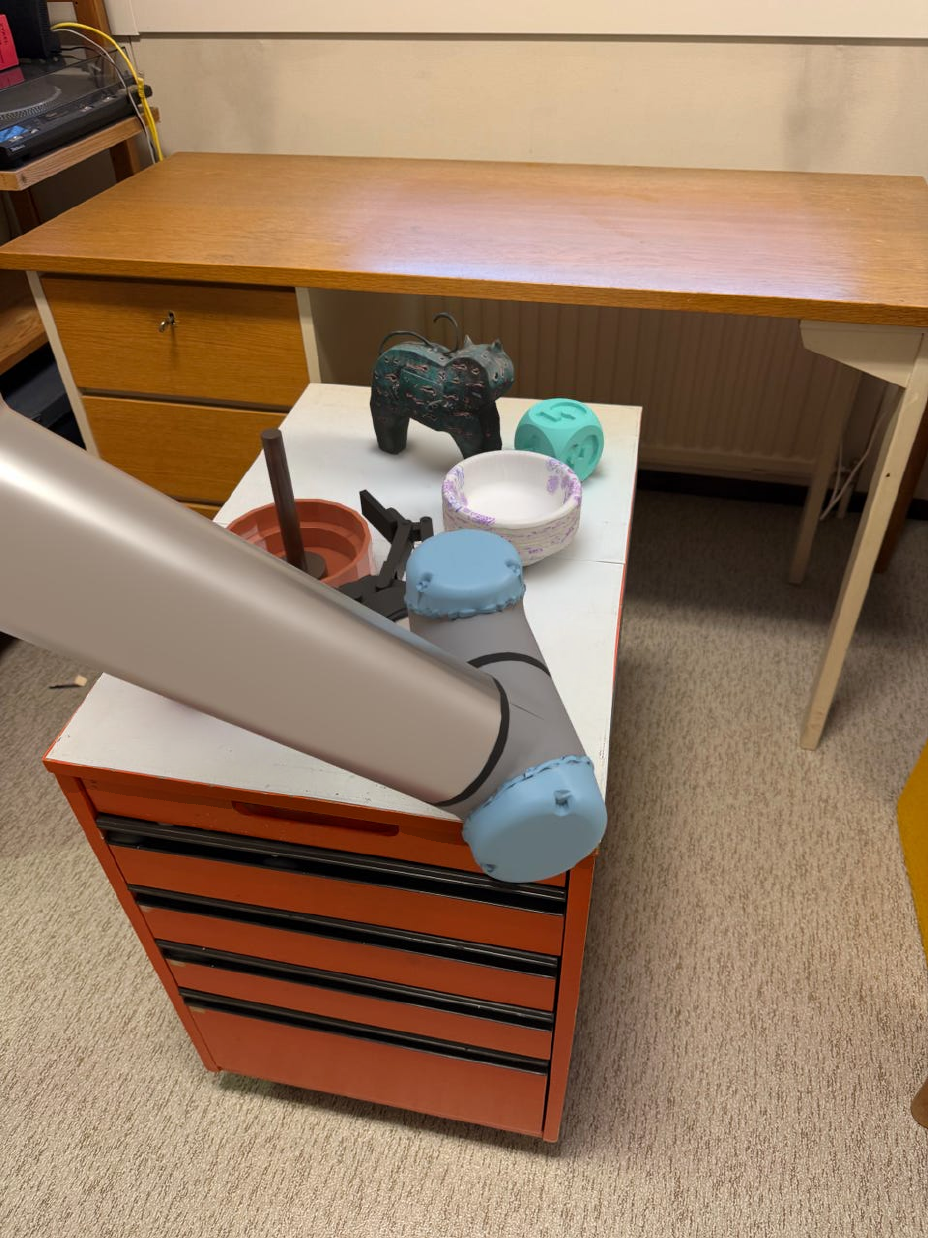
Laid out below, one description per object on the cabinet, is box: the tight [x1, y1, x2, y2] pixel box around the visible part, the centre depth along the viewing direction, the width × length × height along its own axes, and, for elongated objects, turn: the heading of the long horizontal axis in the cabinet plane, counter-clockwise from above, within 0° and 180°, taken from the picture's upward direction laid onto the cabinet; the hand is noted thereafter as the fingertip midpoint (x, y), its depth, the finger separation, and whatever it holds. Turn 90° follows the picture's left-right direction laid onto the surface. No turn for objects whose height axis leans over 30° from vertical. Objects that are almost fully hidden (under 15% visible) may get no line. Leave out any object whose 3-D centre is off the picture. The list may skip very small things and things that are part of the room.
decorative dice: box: [513, 397, 605, 482], centre depth 109 cm, size 8×8×8 cm
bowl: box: [225, 498, 377, 588], centre depth 93 cm, size 16×16×6 cm
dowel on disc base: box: [259, 427, 328, 580], centre depth 89 cm, size 6×6×18 cm
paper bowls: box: [441, 449, 583, 567], centre depth 97 cm, size 15×15×8 cm
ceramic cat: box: [369, 312, 515, 461], centre depth 107 cm, size 20×6×20 cm, turn 54°
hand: (300, 523), depth 85 cm, fingers open, 13 cm apart
